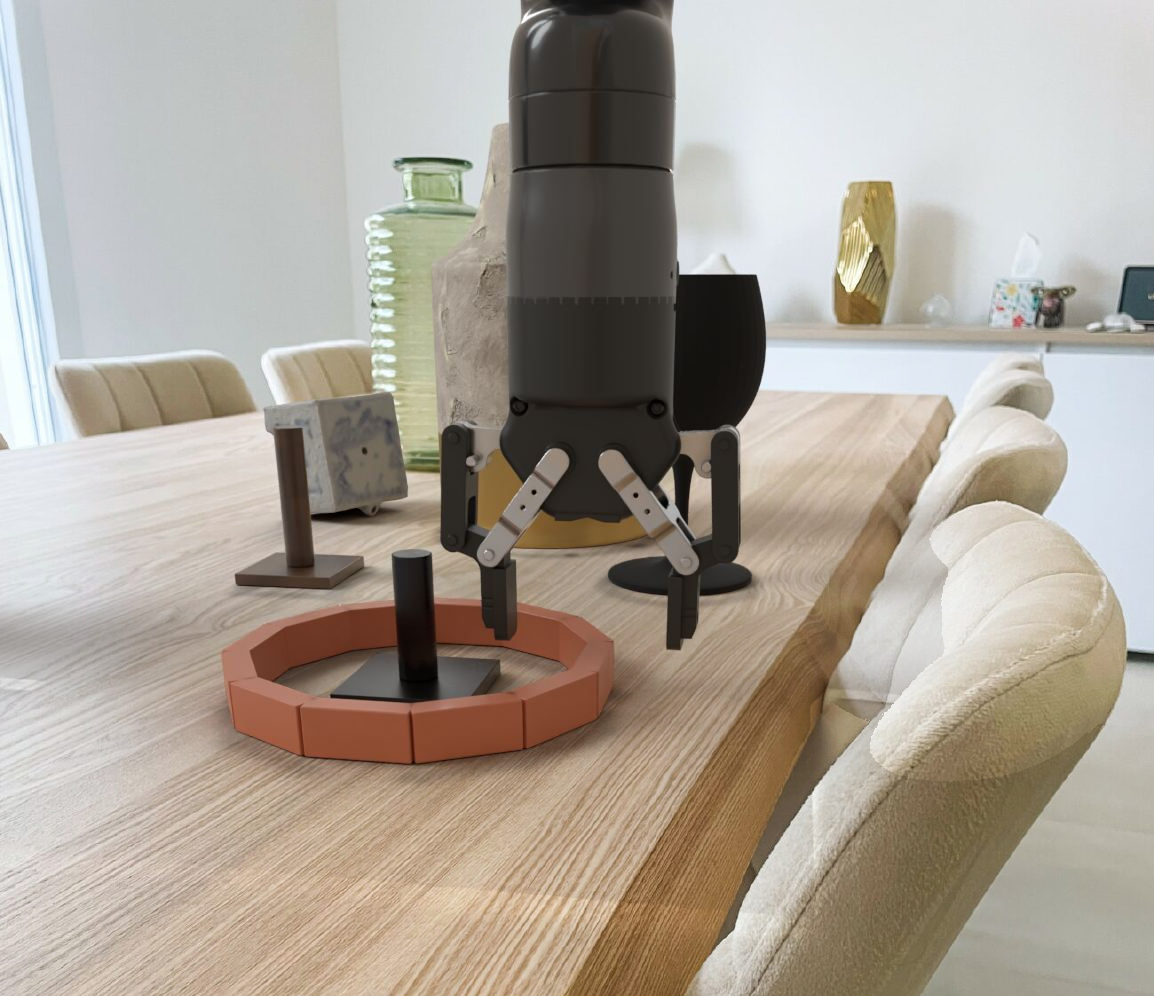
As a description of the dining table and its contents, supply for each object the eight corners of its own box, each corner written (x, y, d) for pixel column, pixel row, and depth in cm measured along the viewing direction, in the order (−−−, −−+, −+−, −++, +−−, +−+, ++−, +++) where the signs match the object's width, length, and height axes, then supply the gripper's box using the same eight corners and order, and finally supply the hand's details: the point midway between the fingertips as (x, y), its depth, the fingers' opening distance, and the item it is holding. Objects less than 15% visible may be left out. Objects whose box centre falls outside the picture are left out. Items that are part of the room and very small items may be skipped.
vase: (407, 540, 95) (382, 116, 83) (488, 501, 111) (477, 143, 99) (623, 554, 90) (629, 106, 78) (675, 512, 106) (687, 135, 94)
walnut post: (235, 584, 81) (217, 431, 77) (276, 562, 87) (261, 420, 83) (330, 589, 80) (316, 433, 76) (364, 566, 86) (354, 421, 82)
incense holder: (348, 500, 112) (339, 387, 108) (412, 508, 108) (405, 392, 104) (270, 515, 105) (258, 395, 100) (335, 525, 100) (325, 400, 96)
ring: (155, 746, 53) (148, 697, 52) (317, 630, 70) (314, 591, 69) (571, 776, 50) (571, 724, 49) (632, 646, 67) (633, 606, 66)
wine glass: (581, 570, 85) (581, 274, 77) (700, 555, 89) (712, 274, 81) (654, 602, 76) (662, 274, 68) (782, 584, 81) (803, 274, 73)
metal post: (330, 709, 57) (318, 566, 55) (377, 666, 64) (368, 536, 61) (467, 717, 56) (461, 572, 53) (500, 673, 63) (497, 541, 60)
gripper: (410, 289, 49) (430, 656, 55) (750, 289, 46) (729, 672, 53) (458, 288, 55) (470, 615, 62) (756, 288, 53) (737, 628, 60)
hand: (590, 641), depth 57 cm, fingers open, 8 cm apart
